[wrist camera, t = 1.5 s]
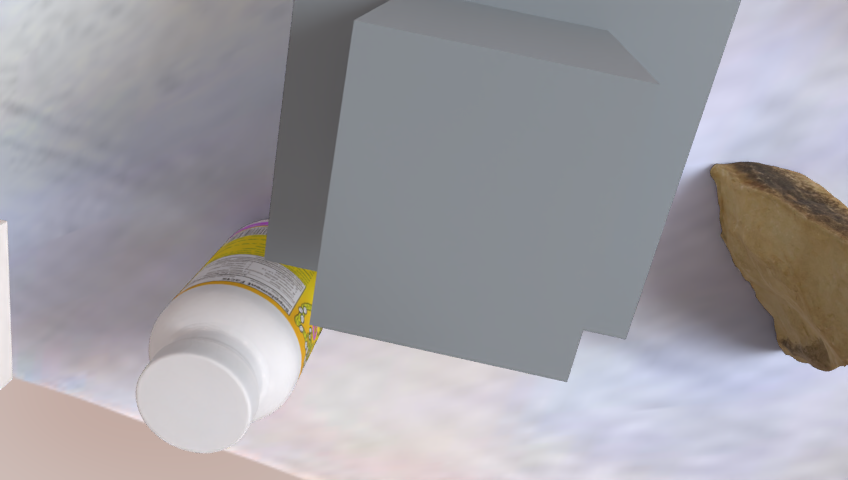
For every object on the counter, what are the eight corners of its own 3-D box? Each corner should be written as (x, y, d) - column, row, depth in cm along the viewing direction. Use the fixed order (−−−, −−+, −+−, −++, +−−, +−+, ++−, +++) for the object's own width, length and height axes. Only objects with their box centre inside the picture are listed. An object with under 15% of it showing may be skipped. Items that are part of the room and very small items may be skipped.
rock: (894, 391, 38) (990, 217, 33) (836, 480, 32) (941, 286, 27) (695, 292, 44) (750, 132, 39) (617, 352, 38) (669, 175, 33)
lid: (748, -54, 26) (907, -44, 15) (621, 325, 32) (674, 516, 21) (319, -142, 26) (192, -190, 16) (272, 248, 32) (158, 399, 22)
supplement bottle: (304, 345, 43) (225, 502, 31) (203, 283, 42) (83, 420, 30) (365, 258, 41) (305, 392, 29) (259, 190, 40) (152, 299, 28)
